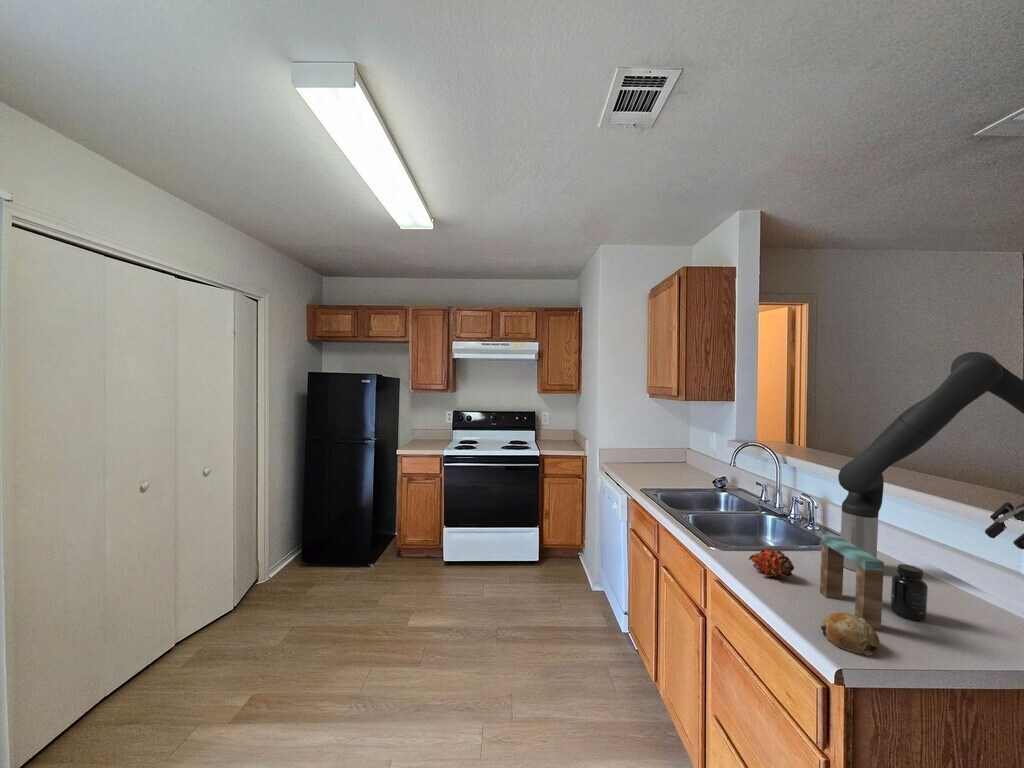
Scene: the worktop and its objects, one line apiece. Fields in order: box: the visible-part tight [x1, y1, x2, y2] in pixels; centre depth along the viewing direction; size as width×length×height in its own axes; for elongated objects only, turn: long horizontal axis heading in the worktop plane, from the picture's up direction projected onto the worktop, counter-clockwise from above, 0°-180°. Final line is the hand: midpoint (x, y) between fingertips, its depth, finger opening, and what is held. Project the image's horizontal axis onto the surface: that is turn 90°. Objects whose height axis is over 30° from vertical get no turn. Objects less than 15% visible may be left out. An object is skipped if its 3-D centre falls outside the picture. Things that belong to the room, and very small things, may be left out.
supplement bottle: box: [890, 563, 929, 622], centre depth 113 cm, size 7×7×12 cm
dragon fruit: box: [748, 547, 795, 579], centre depth 134 cm, size 8×8×12 cm
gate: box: [819, 534, 885, 631], centre depth 115 cm, size 18×4×16 cm, turn 173°
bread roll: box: [819, 612, 881, 657], centre depth 100 cm, size 10×10×8 cm
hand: (1002, 540), depth 110 cm, fingers open, 7 cm apart
